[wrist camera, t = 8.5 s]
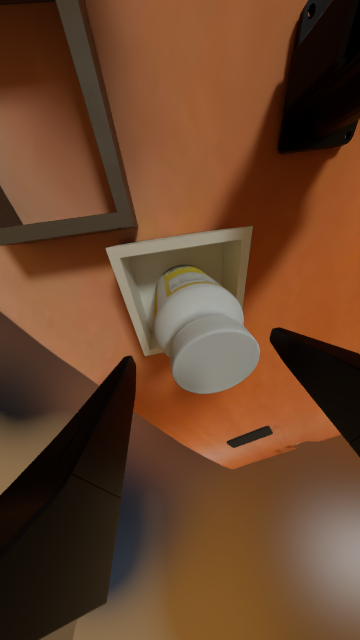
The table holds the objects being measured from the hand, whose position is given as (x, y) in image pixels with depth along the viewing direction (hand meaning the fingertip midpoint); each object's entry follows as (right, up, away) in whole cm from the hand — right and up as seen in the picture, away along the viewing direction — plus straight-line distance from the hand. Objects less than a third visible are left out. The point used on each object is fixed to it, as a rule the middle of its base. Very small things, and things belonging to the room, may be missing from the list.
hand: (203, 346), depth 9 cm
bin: (-1, +6, +9) cm, 11 cm away
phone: (+22, -38, +40) cm, 60 cm away
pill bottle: (-1, +5, +8) cm, 10 cm away
